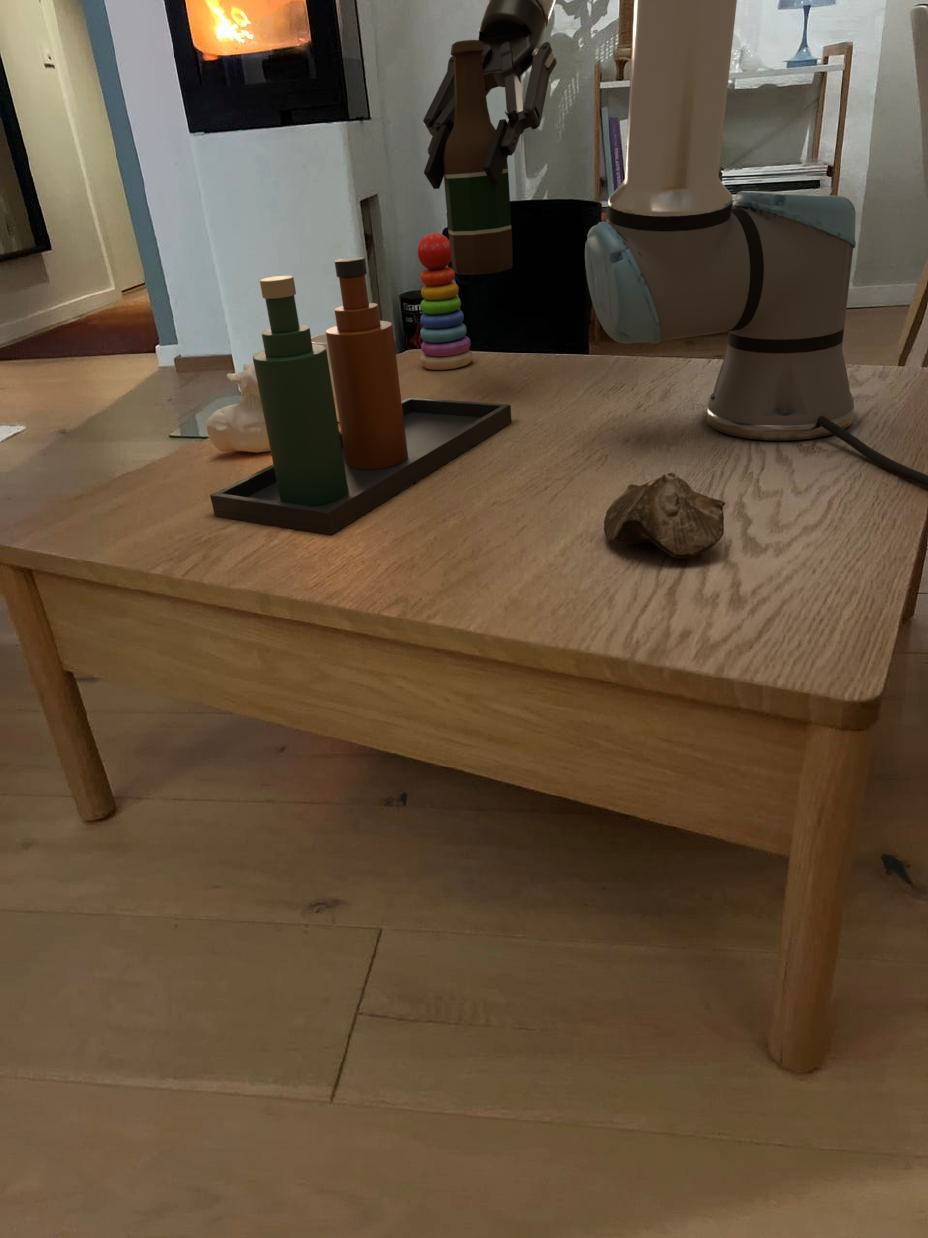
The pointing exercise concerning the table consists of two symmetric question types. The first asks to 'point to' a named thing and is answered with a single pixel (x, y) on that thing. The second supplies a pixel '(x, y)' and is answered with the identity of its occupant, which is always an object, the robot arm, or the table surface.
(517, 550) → the table surface
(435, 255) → the stacking toy
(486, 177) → the beer bottle
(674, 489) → the fossilized seashell
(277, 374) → the bottle far
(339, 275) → the bottle mid
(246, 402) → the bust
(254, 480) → the tray
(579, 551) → the table surface
